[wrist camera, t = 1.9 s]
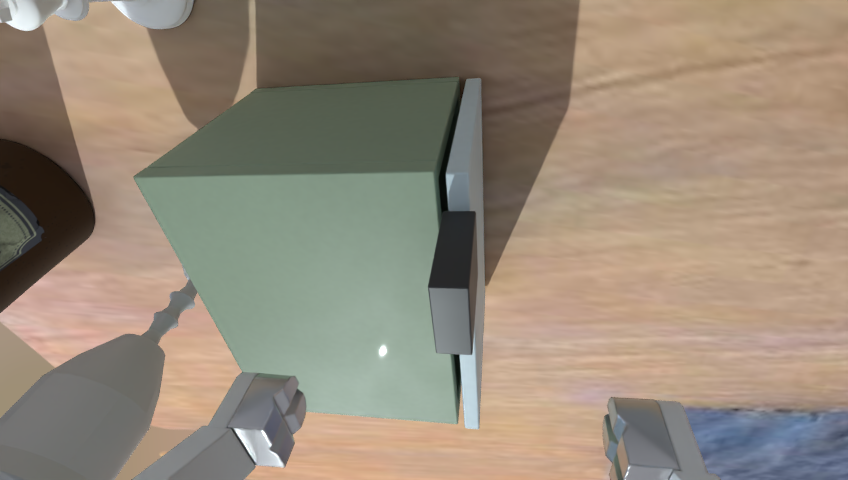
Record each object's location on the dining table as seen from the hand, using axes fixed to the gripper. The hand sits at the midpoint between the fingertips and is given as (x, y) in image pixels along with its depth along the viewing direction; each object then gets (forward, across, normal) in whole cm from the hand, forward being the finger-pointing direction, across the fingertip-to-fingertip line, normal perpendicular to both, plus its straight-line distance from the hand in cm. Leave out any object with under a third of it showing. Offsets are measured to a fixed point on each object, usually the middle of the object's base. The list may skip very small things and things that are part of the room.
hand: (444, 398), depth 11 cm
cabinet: (+18, +7, +5) cm, 19 cm away
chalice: (+18, +21, +10) cm, 29 cm away
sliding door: (+17, 0, +5) cm, 18 cm away
